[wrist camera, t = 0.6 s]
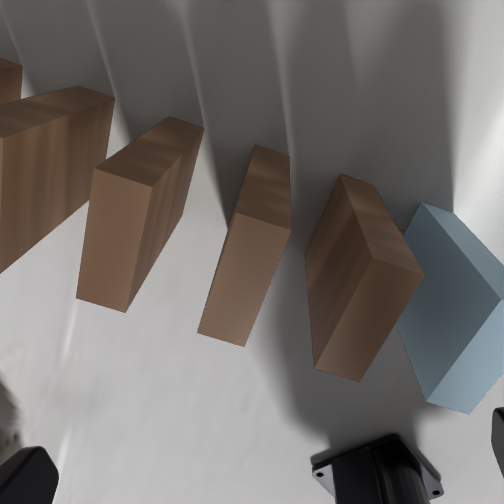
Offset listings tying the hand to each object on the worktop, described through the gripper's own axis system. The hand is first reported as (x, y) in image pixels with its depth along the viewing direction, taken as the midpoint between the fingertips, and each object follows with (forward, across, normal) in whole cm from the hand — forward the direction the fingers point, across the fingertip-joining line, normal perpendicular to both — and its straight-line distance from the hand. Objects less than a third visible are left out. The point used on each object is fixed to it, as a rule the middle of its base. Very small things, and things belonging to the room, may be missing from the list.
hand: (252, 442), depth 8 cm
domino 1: (+13, +8, -5) cm, 16 cm away
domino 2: (+13, +4, -3) cm, 14 cm away
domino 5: (+13, -6, +3) cm, 15 cm away
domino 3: (+13, +1, -1) cm, 13 cm away
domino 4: (+13, -3, +1) cm, 13 cm away
